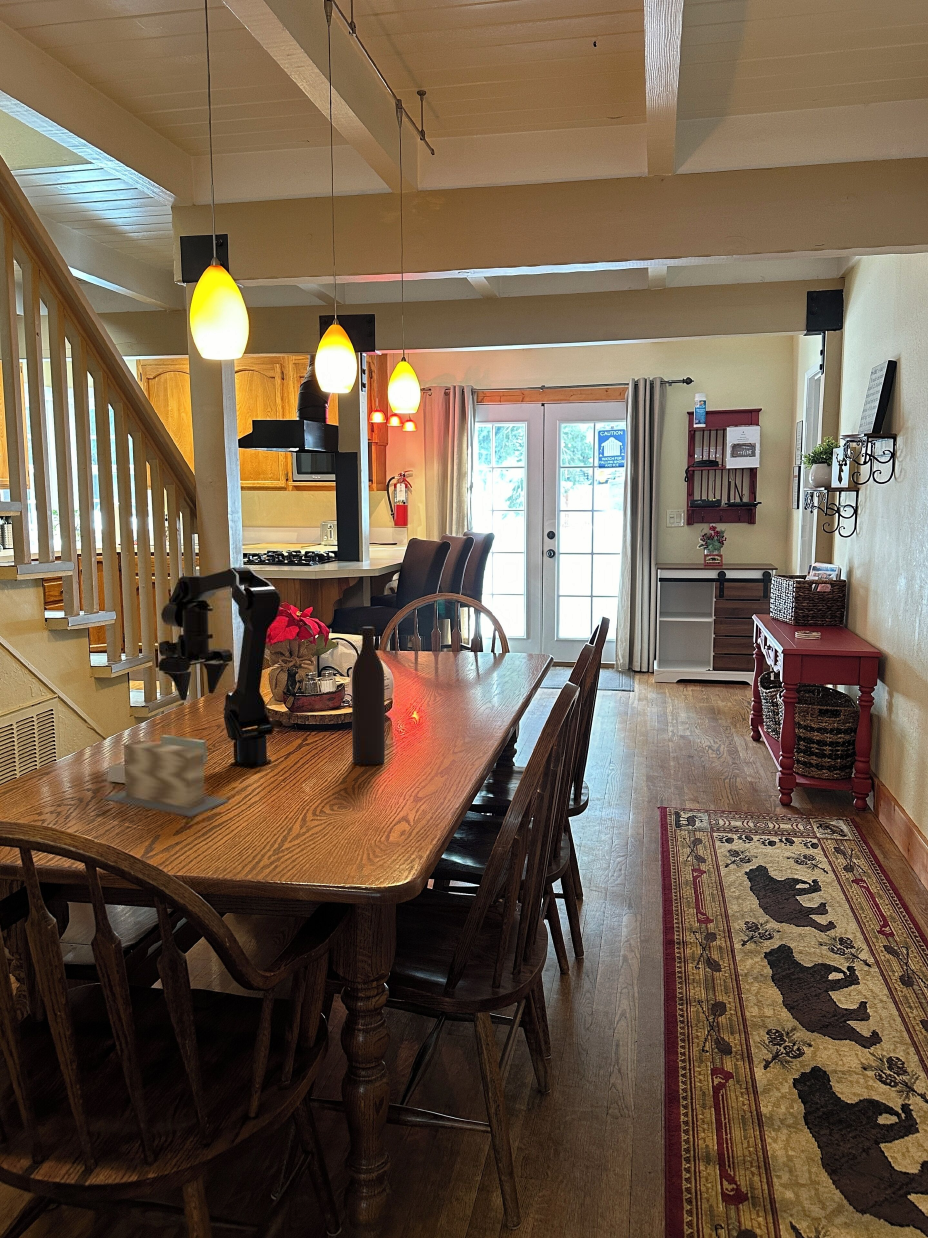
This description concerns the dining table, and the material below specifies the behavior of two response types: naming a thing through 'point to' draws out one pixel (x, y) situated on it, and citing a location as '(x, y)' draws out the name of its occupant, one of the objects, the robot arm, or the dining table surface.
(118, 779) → the offcut lower
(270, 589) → the robot arm
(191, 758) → the beige brown block
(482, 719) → the dining table surface
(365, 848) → the dining table surface
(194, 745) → the panel
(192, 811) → the mat
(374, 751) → the wine bottle
